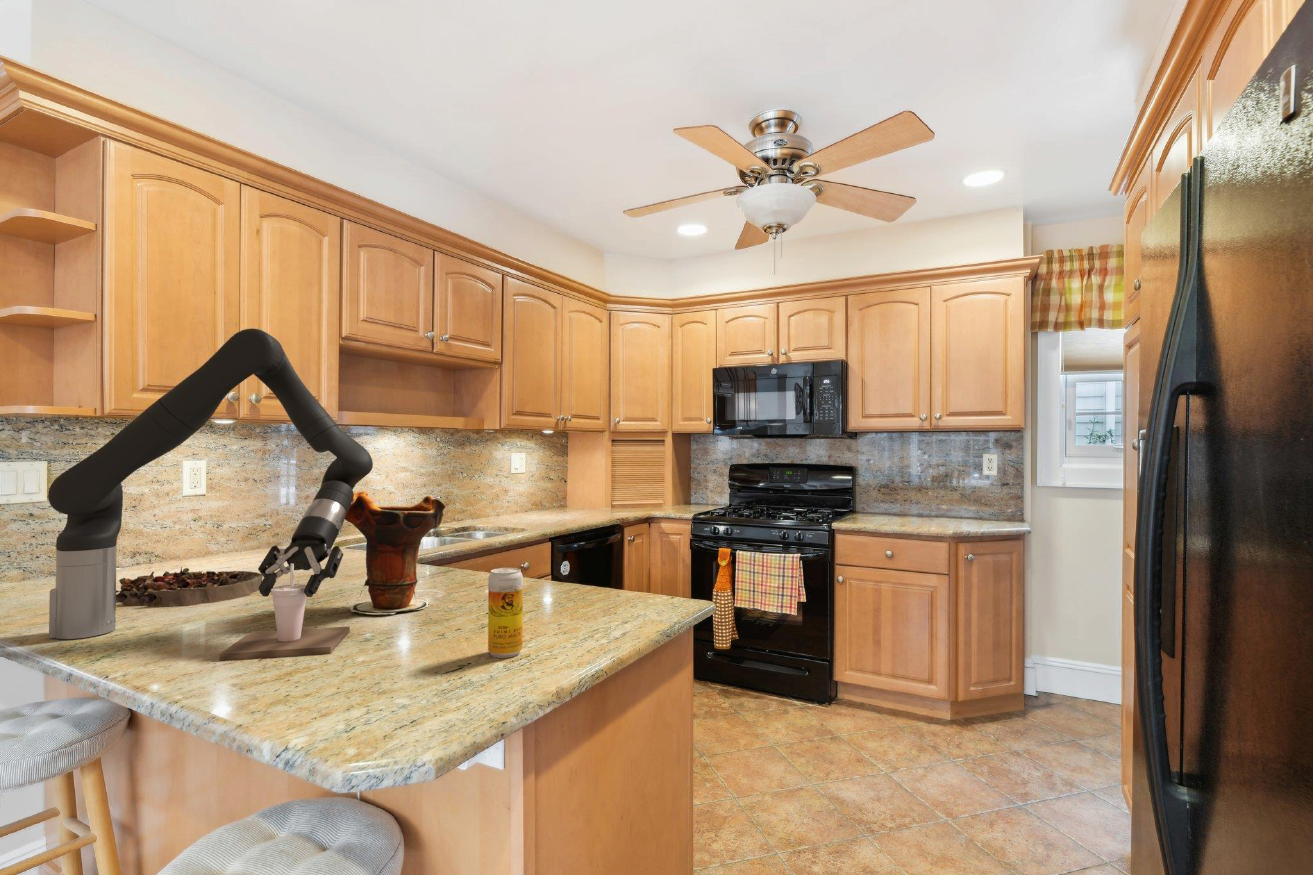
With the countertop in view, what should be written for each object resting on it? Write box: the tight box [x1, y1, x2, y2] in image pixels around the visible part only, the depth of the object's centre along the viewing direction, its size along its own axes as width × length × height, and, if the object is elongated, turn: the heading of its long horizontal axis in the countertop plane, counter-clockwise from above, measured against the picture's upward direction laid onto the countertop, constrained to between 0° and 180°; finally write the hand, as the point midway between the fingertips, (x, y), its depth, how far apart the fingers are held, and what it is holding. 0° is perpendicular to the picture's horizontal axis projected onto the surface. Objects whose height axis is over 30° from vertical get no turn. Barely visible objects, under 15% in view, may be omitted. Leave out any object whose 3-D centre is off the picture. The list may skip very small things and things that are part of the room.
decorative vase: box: [344, 490, 446, 615], centre depth 153 cm, size 20×22×27 cm
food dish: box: [116, 566, 264, 608], centre depth 169 cm, size 35×33×8 cm
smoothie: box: [269, 564, 307, 641], centre depth 123 cm, size 6×6×14 cm
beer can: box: [487, 567, 524, 659], centre depth 118 cm, size 6×6×15 cm
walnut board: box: [218, 626, 351, 661], centre depth 123 cm, size 18×14×1 cm
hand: (285, 594), depth 122 cm, fingers open, 8 cm apart
